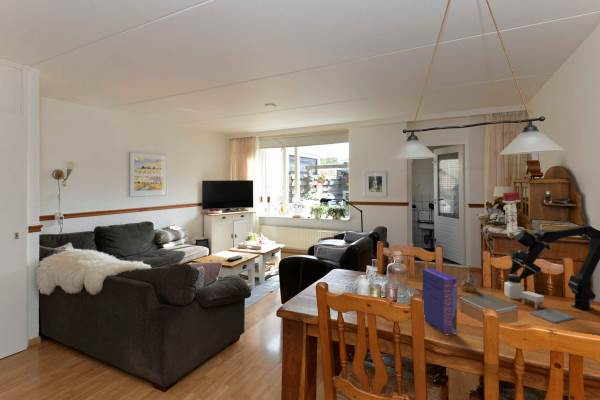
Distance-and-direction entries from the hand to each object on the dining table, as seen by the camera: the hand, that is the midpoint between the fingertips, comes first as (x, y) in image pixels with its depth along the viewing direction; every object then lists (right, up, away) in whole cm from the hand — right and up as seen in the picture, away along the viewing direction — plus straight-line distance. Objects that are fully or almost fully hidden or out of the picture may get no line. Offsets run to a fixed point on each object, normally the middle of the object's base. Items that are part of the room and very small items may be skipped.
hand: (514, 276), depth 163 cm
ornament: (-12, -14, +22) cm, 29 cm away
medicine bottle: (+8, -14, +12) cm, 20 cm away
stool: (+9, -15, 0) cm, 17 cm away
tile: (+9, -16, -13) cm, 22 cm away
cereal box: (-49, -17, -21) cm, 56 cm away
